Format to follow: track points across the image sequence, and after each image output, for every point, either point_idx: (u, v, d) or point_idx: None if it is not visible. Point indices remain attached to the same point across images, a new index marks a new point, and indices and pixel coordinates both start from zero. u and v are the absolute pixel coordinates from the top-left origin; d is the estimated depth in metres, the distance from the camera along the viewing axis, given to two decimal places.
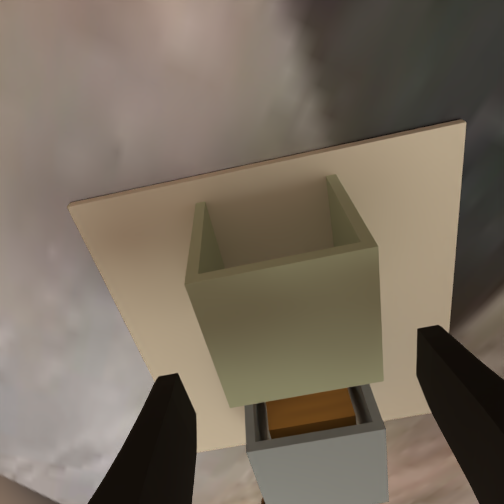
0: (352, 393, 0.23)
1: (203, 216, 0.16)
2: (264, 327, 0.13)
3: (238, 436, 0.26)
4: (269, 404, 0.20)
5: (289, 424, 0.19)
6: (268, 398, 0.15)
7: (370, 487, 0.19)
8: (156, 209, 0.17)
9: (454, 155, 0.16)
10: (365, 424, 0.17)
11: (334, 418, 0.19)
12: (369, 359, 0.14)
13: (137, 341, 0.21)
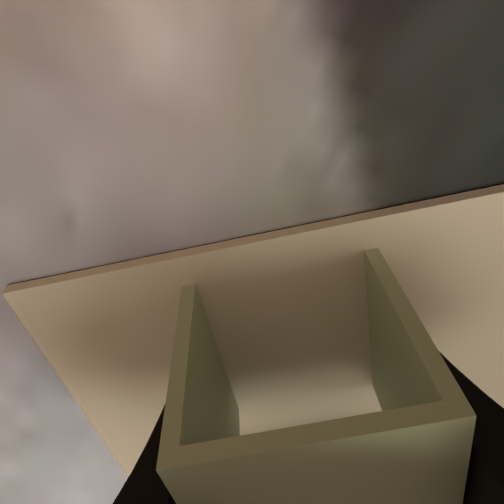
0: None
1: (191, 313, 0.11)
2: None
3: None
4: None
5: None
6: None
7: None
8: (127, 294, 0.12)
9: None
10: None
11: None
12: None
13: (110, 445, 0.16)
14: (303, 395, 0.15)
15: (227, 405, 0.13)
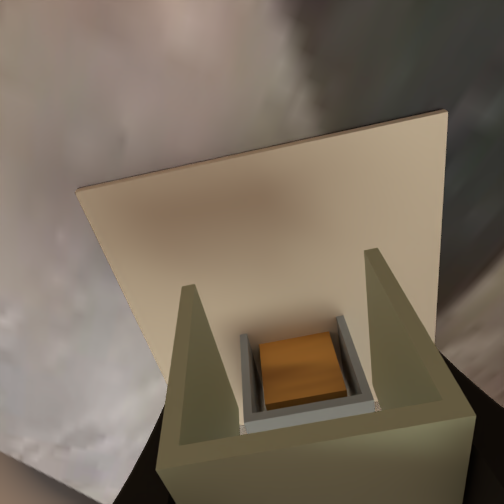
0: (345, 373, 0.24)
1: (191, 313, 0.11)
2: None
3: None
4: (265, 381, 0.21)
5: (284, 398, 0.20)
6: None
7: None
8: (159, 194, 0.18)
9: (437, 143, 0.18)
10: (355, 396, 0.18)
11: (326, 392, 0.20)
12: None
13: (140, 322, 0.22)
14: (281, 281, 0.21)
15: (227, 405, 0.13)
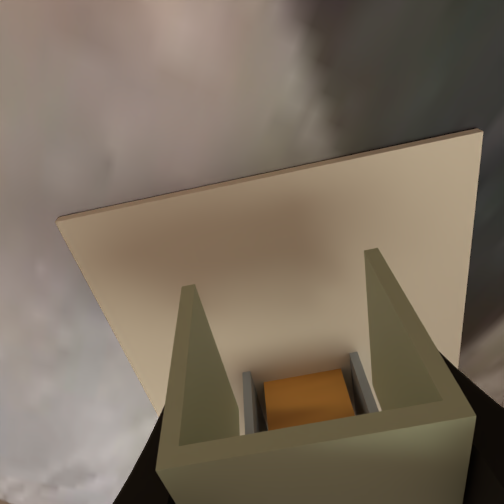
0: (358, 413, 0.22)
1: (191, 313, 0.11)
2: None
3: None
4: (271, 427, 0.19)
5: None
6: None
7: None
8: (151, 224, 0.16)
9: (469, 166, 0.15)
10: None
11: None
12: None
13: (132, 360, 0.20)
14: (288, 316, 0.19)
15: (227, 405, 0.13)
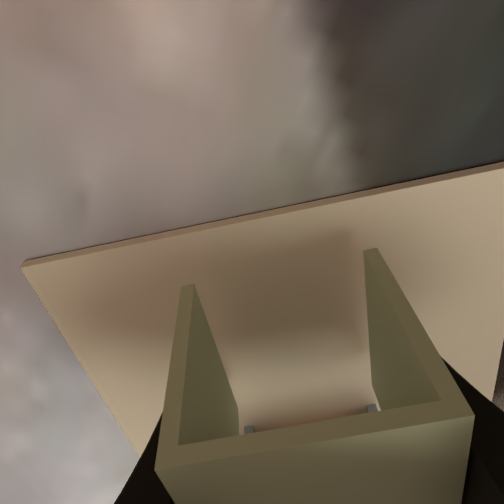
0: None
1: (190, 313, 0.11)
2: None
3: None
4: None
5: None
6: None
7: None
8: (135, 269, 0.13)
9: None
10: None
11: None
12: None
13: (117, 416, 0.17)
14: (297, 367, 0.16)
15: (226, 405, 0.13)
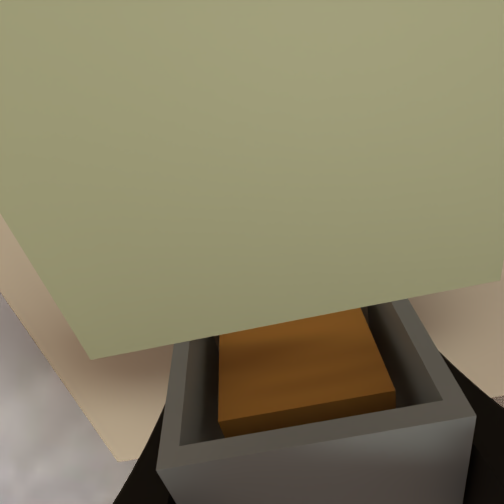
0: None
1: None
2: (131, 48, 0.04)
3: None
4: (224, 372, 0.10)
5: (259, 409, 0.09)
6: (190, 332, 0.06)
7: None
8: None
9: None
10: (426, 405, 0.08)
11: (351, 397, 0.09)
12: (472, 204, 0.05)
13: None
14: None
15: None
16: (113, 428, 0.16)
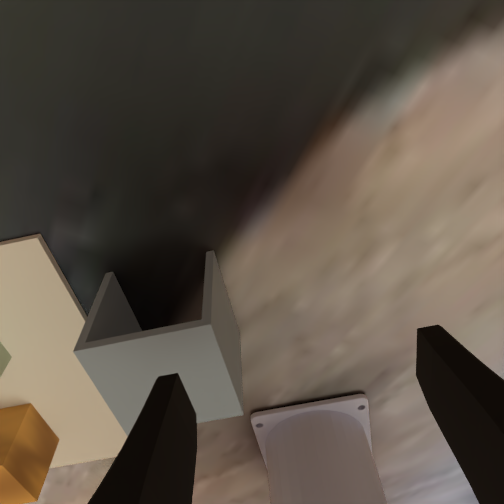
0: None
1: None
2: None
3: None
4: None
5: None
6: None
7: (218, 396, 0.19)
8: None
9: (42, 260, 0.20)
10: (193, 321, 0.17)
11: None
12: None
13: None
14: None
15: None
16: None
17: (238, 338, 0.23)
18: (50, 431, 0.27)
